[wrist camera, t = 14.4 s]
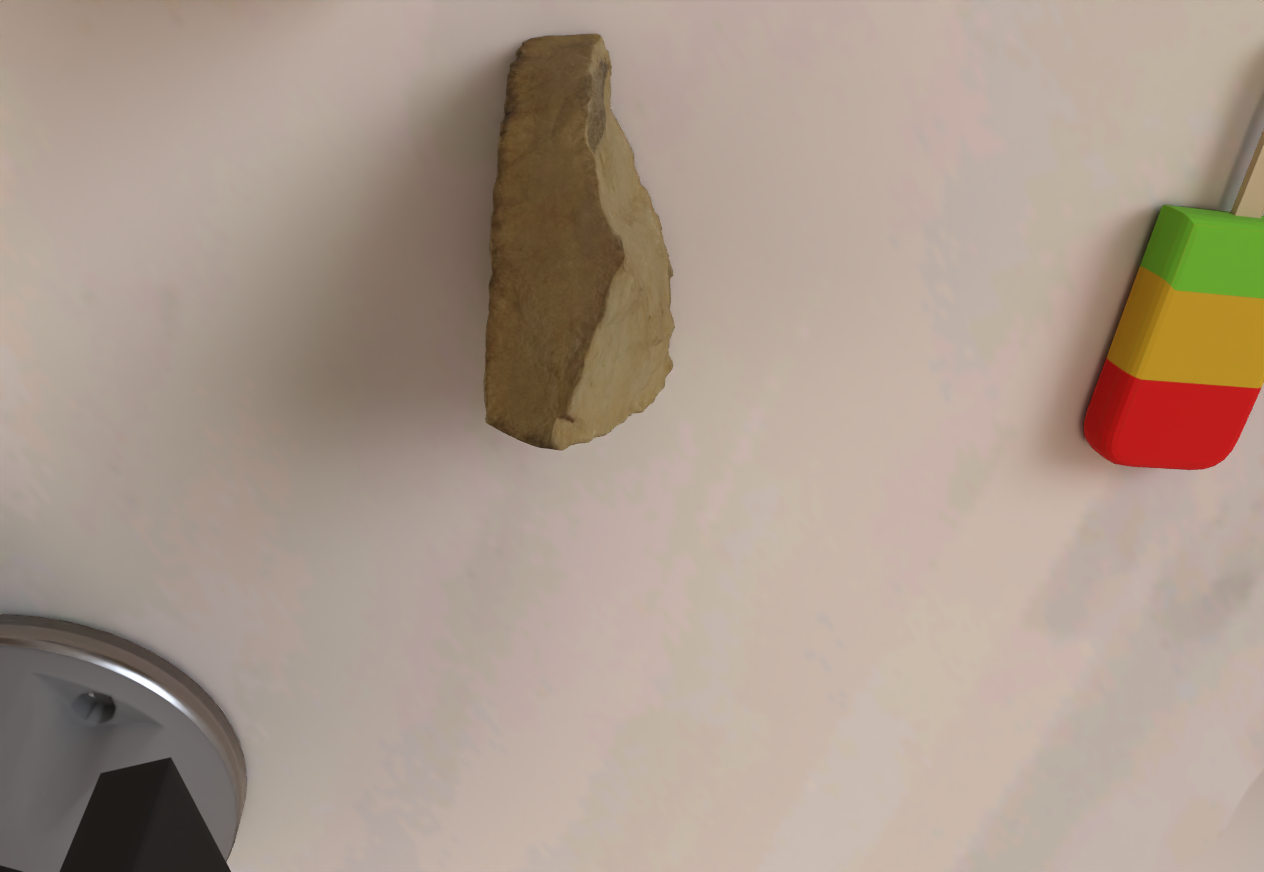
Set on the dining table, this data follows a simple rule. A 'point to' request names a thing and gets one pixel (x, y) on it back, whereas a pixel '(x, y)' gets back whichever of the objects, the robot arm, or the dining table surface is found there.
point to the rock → (571, 257)
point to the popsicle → (1187, 339)
